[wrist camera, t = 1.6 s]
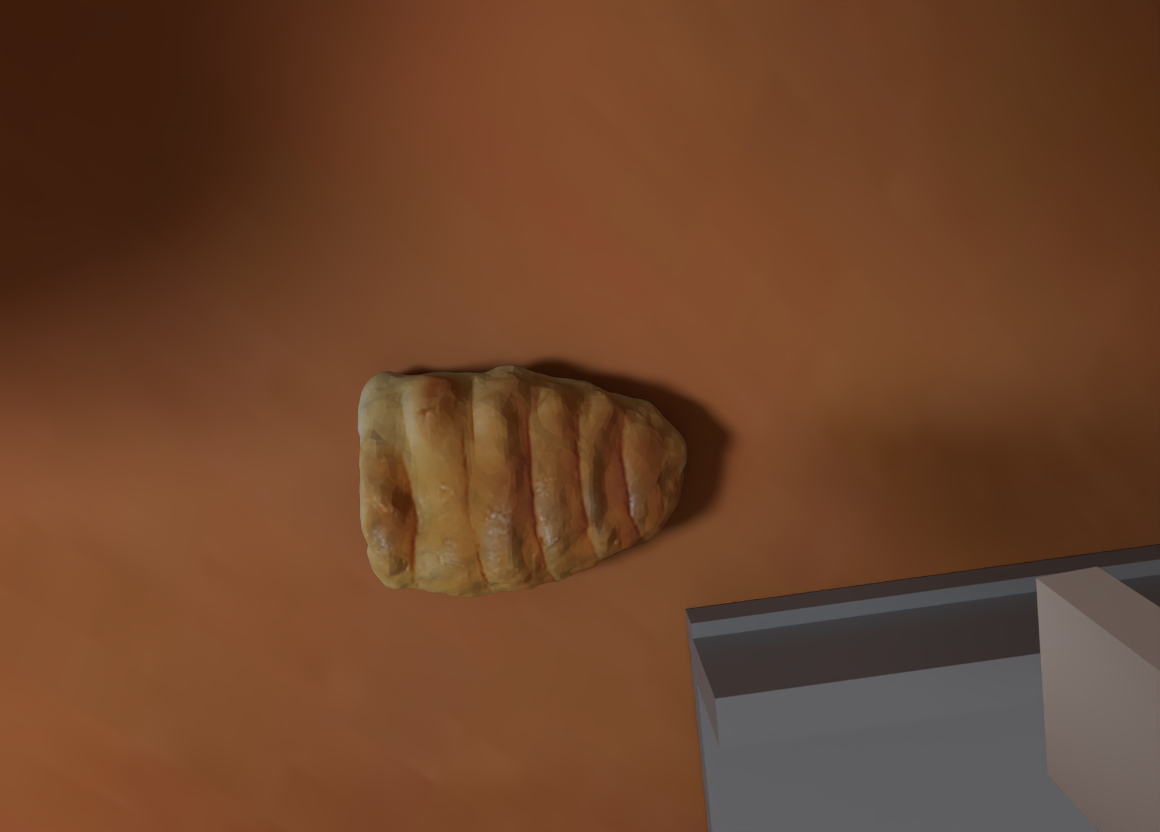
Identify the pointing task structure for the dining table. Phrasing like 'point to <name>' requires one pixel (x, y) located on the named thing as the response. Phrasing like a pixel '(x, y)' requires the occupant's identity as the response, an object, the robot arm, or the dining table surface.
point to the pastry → (507, 478)
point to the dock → (887, 704)
